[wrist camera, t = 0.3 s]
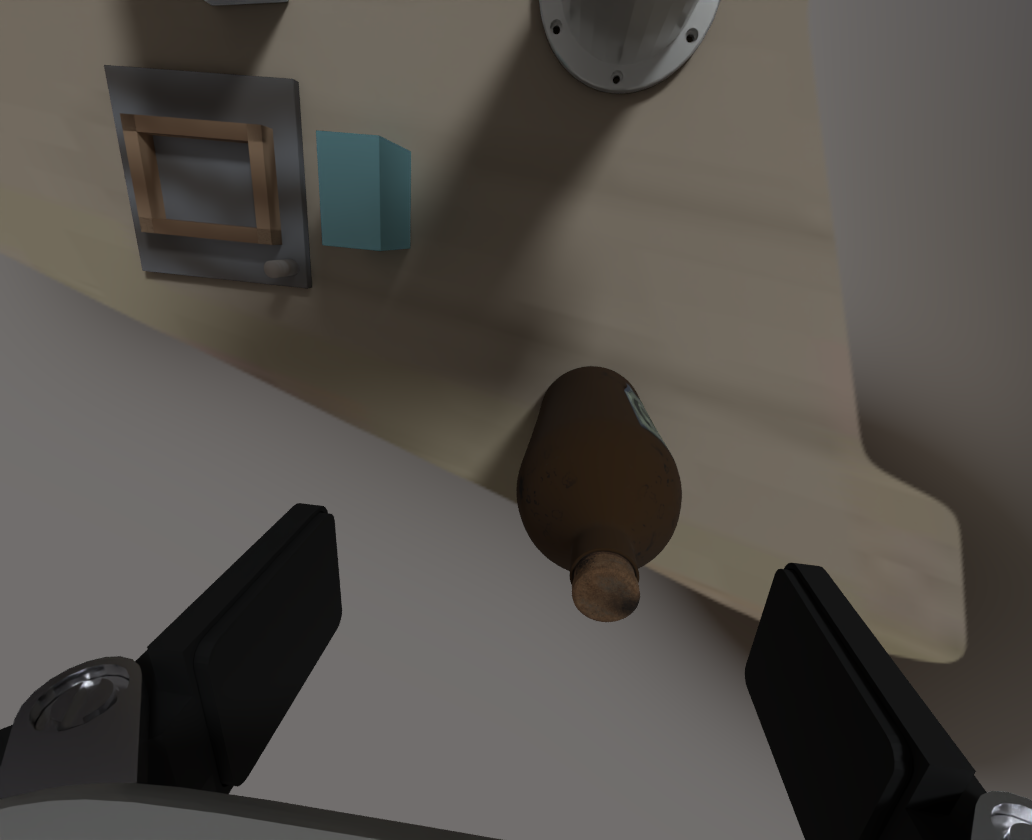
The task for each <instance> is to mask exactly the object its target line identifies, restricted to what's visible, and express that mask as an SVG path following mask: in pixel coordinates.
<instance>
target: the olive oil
mask: <svg viewBox="0 0 1032 840" xmlns="http://www.w3.org/2000/svg"><path fill="white" fill-rule="evenodd" d="M681 500H682V489H681V481H680V476H679V473H678V470H677V466H676V464H675V461H674V459H673V457H672V455H671V453H670V452H669V450H668V448H667V446H666V445H665V443H664V441H663V440H662V438H661V436H660V435H659V433H658V431H657V430H656V428H655V426H654V424H653V423H652V421H651V419H650V417H649V415H648V414H647V412H646V410H645V408H644V406H643V404H642V402H641V401H640V398H639V396H638V394H637V393H636V391H635V389H634V388H633V386H632V385H631V384H630V383H629V382H628V381H627V380H626V379H625V378H624V377H623V376H621V375H620V374H618V373H616V372H614V371H612V370H609V369H606V368H602V367H594V366H589V367H581V368H577V369H574V370H571V371H569V372H567V373H565V374H563V375H562V376H560V377H559V378H558V379H557V380H556V381H555V382H554V383H553V384H552V385H551V386H550V387H549V389H548V390H547V392H546V394H545V396H544V399H543V401H542V405H541V408H540V412H539V415H538V419H537V422H536V425H535V428H534V431H533V434H532V437H531V439H530V442H529V445H528V448H527V450H526V453H525V456H524V459H523V461H522V464H521V467H520V471H519V475H518V480H517V503H518V508H519V512H520V515H521V519H522V522H523V525H524V527H525V529H526V531H527V533H528V535H529V537H530V539H531V540H532V542H533V543H534V545H535V546H536V547H537V548H538V549H539V550H540V551H541V552H542V554H544V555H545V556H546V557H547V558H548V559H549V560H551V561H552V562H554V563H555V564H557V565H558V566H560V567H562V568H564V569H566V570H569V571H570V581H571V584H572V597H573V601H574V603H575V606H576V607H577V609H578V610H579V611H580V612H581V613H582V614H584V615H585V616H587V617H588V618H590V619H593V620H596V621H601V622H613V621H618V620H621V619H624V618H626V617H627V616H629V615H630V614H631V613H632V612H633V611H634V610H635V609H636V608H637V606H638V603H639V599H640V591H639V585H638V582H639V571H638V568H640V567H642V566H644V565H645V564H647V563H648V562H650V561H651V560H653V559H654V558H655V557H656V556H657V555H658V554H659V553H660V552H661V551H662V550H663V549H664V547H665V546H666V545H667V543H668V542H669V540H670V539H671V537H672V535H673V533H674V531H675V528H676V526H677V522H678V519H679V514H680V509H681Z"/></svg>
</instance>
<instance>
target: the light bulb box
mask: <svg viewBox="0 0 1032 840" xmlns="http://www.w3.org/2000/svg"><path fill="white" fill-rule="evenodd" d="M204 1H206V2H207V3H209V4H210V5H236V4H256V3H277V2H287V1H288V0H204Z"/></svg>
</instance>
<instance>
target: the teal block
mask: <svg viewBox="0 0 1032 840" xmlns="http://www.w3.org/2000/svg"><path fill="white" fill-rule="evenodd" d="M316 139H317V157H318V175H319V192H320V210H321V228H322V245H326V246H336V247H346V248H356V249H366V250H376V251H386V250H397V249H409V248H410V208H411V151H409V150H407V149H405V148H403V147H401V146H399V145H397V144H395V143H393V142H391V141H389V140H387V139H385V138H383V137H381V136H377V135H365V134H353V133H340V132H328V131H316Z"/></svg>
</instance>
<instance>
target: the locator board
mask: <svg viewBox="0 0 1032 840" xmlns="http://www.w3.org/2000/svg"><path fill="white" fill-rule="evenodd" d="M104 68H105V73H106V78H107V84H108V89H109V94H110V100H111V105H112V110H113V116H114V121H115V126H116V132H117V137H118V142H119V148H120V153H121V158H122V164H123V169H124V174H125V179H126V185H127V190H128V195H129V201H130V206H131V211H132V217H133V222H134V227H135V233H136V238H137V243H138V249H139V254H140V259H141V265H142V270H143V271H151V272H160V273H169V274H179V275H188V276H197V277H207V278H216V279H225V280H235V281H244V282H253V283H263V284H272V285H281V286H291V287H300V288H311V287H312V281H311V266H310V250H309V235H308V220H307V205H306V189H305V174H304V159H303V143H302V128H301V113H300V97H299V82H298V81H296V80H294V79H286V78H273V77H259V76H246V75H232V74H219V73H205V72H192V71H178V70H165V69H151V68H138V67H124V66H111V65H104Z"/></svg>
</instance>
